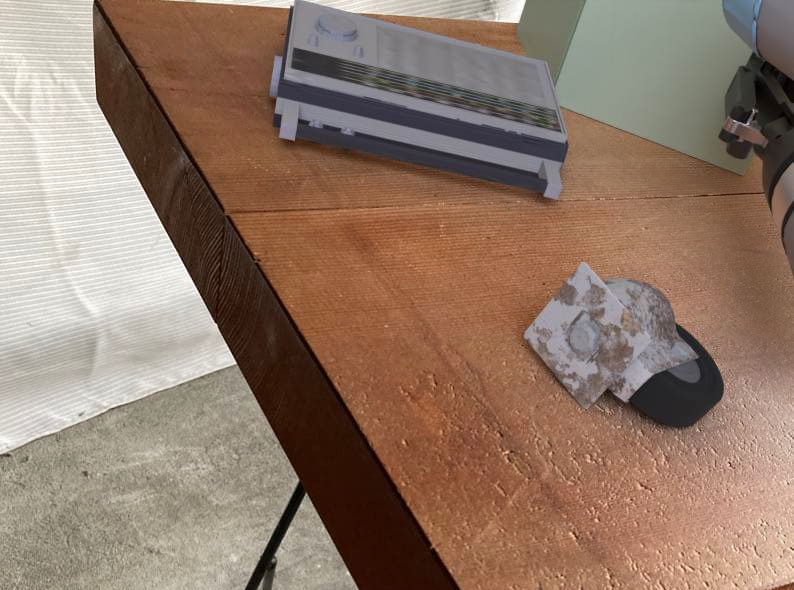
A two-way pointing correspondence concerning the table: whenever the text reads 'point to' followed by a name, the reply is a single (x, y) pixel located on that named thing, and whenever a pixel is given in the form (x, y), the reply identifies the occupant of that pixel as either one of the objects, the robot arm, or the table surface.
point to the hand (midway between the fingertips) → (770, 60)
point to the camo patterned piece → (625, 348)
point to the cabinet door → (658, 74)
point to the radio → (418, 98)
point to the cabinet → (549, 30)
